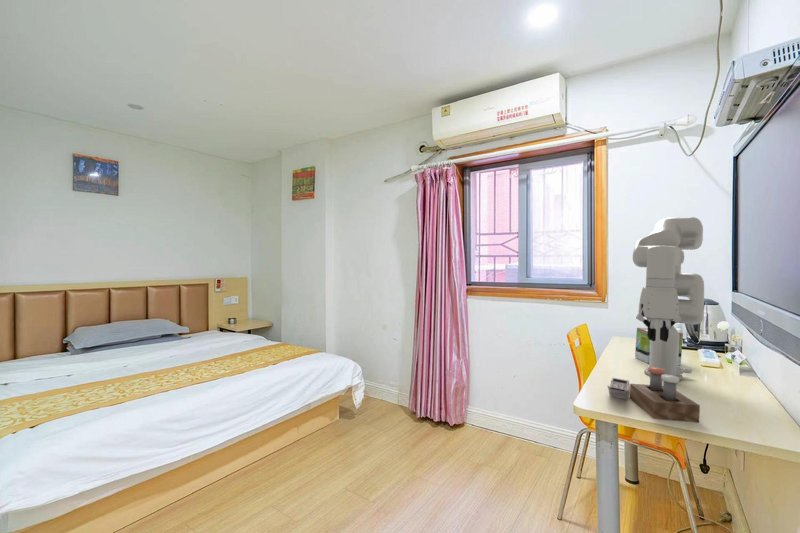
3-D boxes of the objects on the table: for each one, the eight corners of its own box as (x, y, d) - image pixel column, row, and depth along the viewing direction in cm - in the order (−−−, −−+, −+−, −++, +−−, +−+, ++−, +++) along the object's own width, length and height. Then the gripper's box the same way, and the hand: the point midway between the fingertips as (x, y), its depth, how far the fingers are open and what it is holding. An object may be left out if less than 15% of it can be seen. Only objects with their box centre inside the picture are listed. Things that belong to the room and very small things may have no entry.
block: (668, 400, 123) (669, 386, 123) (699, 422, 107) (699, 405, 107) (629, 398, 125) (630, 383, 125) (653, 418, 109) (654, 402, 109)
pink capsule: (659, 388, 122) (660, 367, 122) (666, 393, 118) (667, 371, 117) (645, 387, 123) (645, 366, 122) (651, 392, 118) (652, 370, 118)
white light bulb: (673, 397, 114) (674, 374, 114) (681, 403, 110) (682, 379, 110) (657, 396, 115) (658, 373, 115) (665, 402, 110) (666, 378, 110)
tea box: (647, 363, 166) (649, 331, 166) (634, 357, 176) (635, 327, 176) (682, 364, 166) (683, 332, 165) (666, 358, 176) (667, 327, 175)
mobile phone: (607, 386, 120) (612, 366, 141) (606, 403, 121) (611, 381, 142) (628, 390, 117) (630, 369, 138) (627, 408, 117) (629, 385, 138)
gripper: (680, 283, 121) (678, 339, 122) (627, 282, 124) (625, 336, 125) (695, 285, 114) (692, 344, 115) (637, 284, 117) (635, 341, 117)
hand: (657, 339), depth 120 cm, fingers open, 2 cm apart
